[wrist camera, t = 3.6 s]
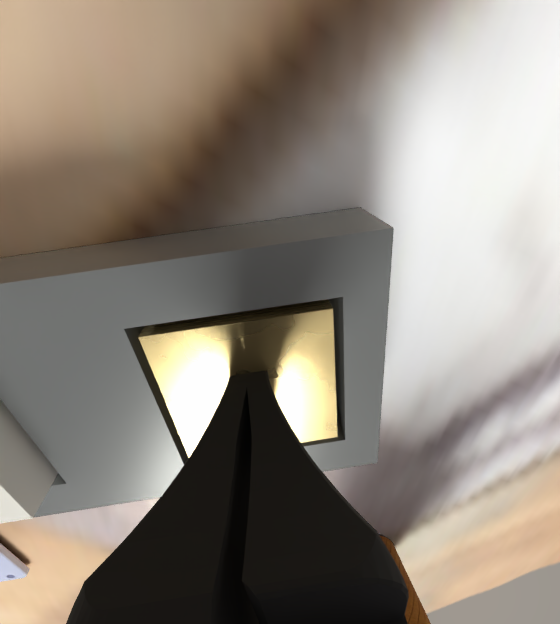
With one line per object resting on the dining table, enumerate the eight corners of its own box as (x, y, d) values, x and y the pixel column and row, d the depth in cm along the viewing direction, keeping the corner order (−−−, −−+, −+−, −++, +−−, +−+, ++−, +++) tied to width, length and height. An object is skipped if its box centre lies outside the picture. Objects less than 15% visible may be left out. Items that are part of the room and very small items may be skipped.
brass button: (199, 406, 16) (189, 459, 13) (161, 295, 12) (138, 337, 10) (322, 387, 16) (337, 437, 13) (315, 273, 13) (333, 308, 10)
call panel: (-48, 475, 17) (-103, 538, 14) (-246, 292, 11) (-398, 340, 8) (357, 413, 17) (377, 463, 14) (360, 207, 11) (393, 227, 9)
